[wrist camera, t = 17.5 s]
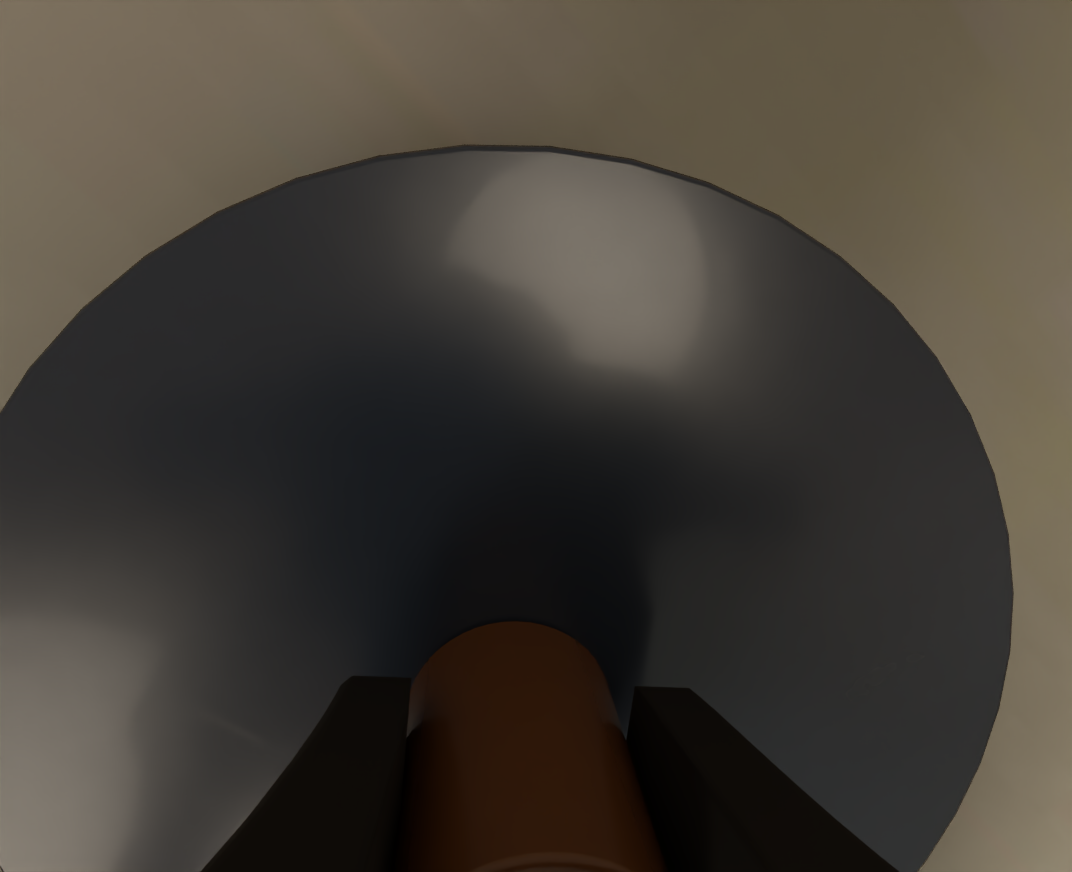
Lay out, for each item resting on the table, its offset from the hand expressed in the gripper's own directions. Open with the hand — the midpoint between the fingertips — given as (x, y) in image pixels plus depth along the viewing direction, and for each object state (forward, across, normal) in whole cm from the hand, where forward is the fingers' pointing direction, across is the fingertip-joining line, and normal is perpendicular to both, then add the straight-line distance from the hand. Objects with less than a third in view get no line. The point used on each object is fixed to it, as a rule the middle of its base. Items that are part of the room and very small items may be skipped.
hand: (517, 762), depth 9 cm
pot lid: (+1, 0, 0) cm, 1 cm away
